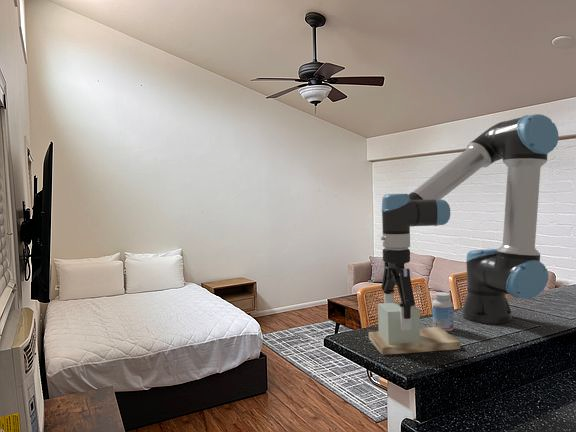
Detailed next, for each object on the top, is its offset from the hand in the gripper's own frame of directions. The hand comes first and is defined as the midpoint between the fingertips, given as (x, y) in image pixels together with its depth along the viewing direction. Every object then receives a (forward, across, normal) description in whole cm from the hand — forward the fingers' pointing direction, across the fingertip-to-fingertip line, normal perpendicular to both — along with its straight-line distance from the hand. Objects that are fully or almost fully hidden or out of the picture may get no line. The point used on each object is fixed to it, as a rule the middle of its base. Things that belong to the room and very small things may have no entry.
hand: (397, 322), depth 119 cm
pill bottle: (+7, -10, +18) cm, 22 cm away
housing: (+4, 0, 0) cm, 5 cm away
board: (+7, 0, +4) cm, 8 cm away
